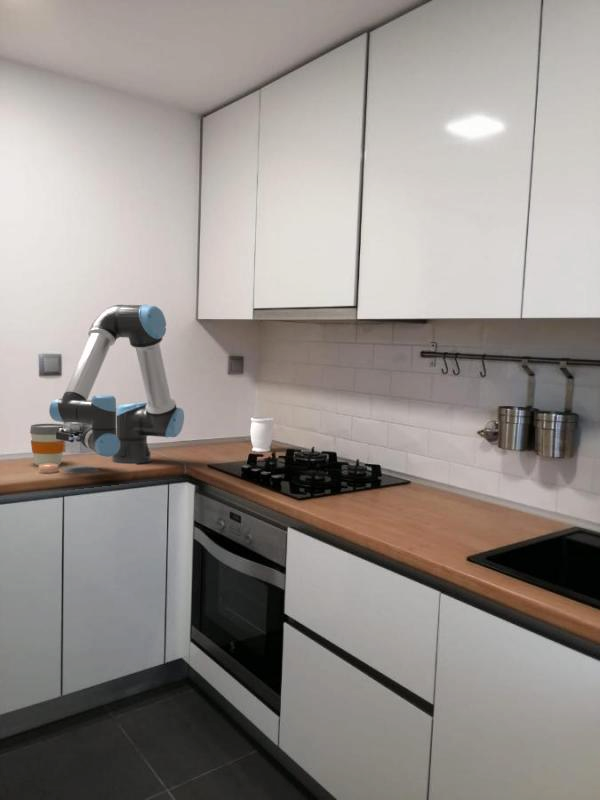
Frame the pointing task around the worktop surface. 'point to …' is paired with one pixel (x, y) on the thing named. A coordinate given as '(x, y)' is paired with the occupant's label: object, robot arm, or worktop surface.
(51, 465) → the beige low rounded block
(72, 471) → the mat
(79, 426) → the faceted metal canister
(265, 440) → the jar
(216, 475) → the worktop surface
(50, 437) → the reusable coffee cup
